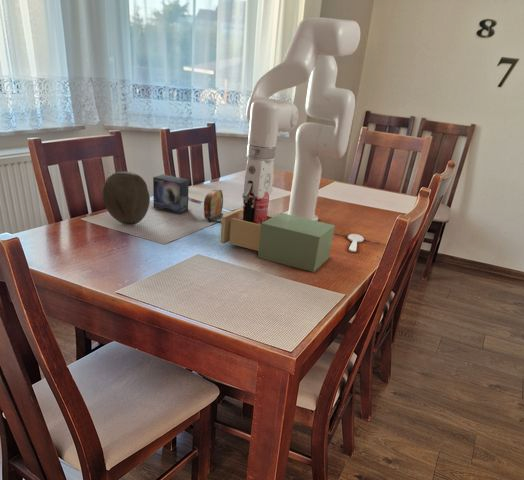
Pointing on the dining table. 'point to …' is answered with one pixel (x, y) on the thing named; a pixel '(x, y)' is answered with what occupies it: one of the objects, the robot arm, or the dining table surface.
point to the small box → (170, 193)
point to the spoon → (354, 241)
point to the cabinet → (295, 241)
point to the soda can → (260, 208)
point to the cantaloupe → (126, 197)
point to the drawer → (238, 230)
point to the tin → (213, 203)
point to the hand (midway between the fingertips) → (254, 217)
